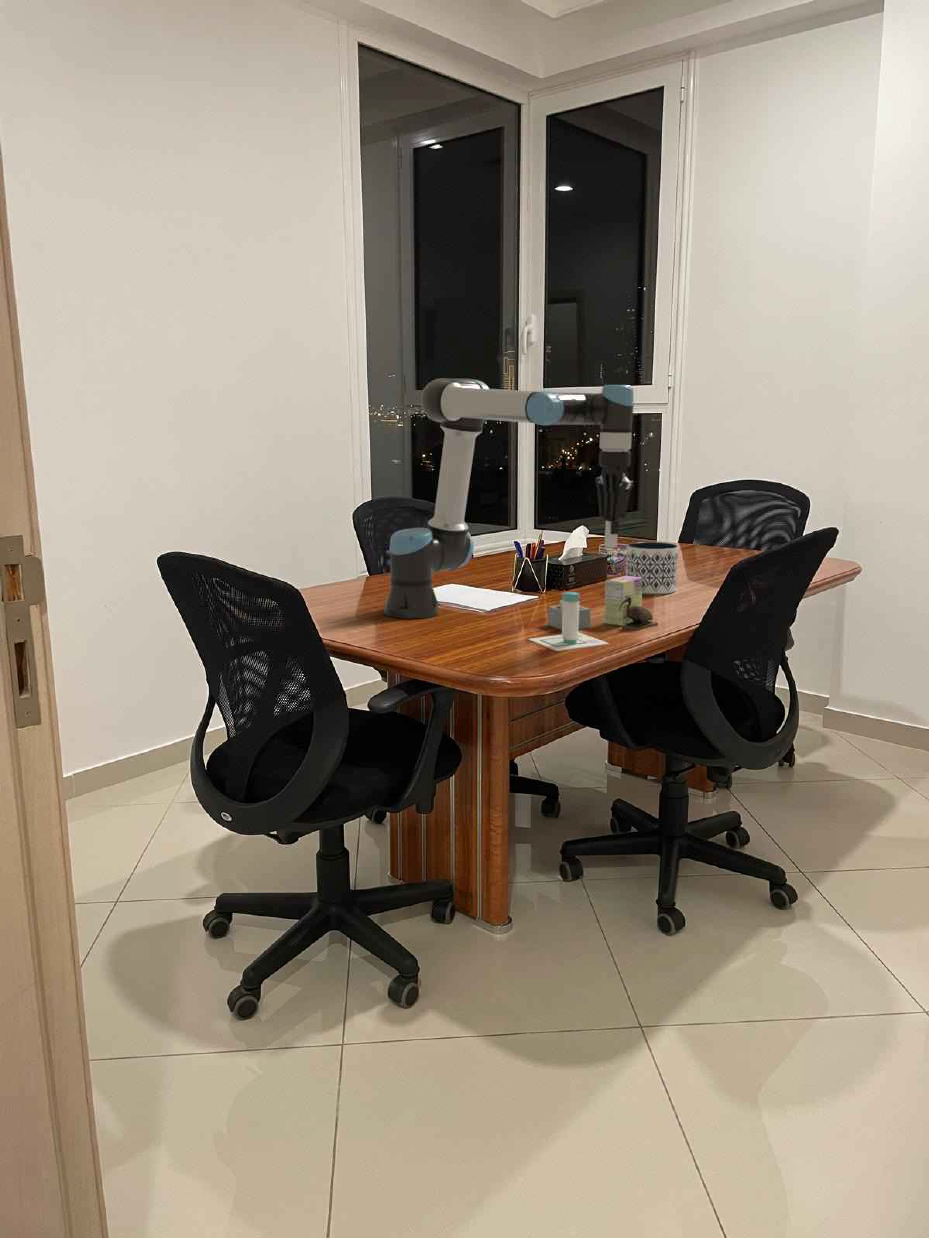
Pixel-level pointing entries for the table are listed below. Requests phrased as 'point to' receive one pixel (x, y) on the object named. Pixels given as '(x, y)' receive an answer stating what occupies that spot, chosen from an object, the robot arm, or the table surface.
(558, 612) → the button box
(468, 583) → the table surface
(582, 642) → the sheet
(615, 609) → the box
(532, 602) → the table surface
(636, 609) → the figurine
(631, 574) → the planter
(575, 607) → the white teal cylinder
